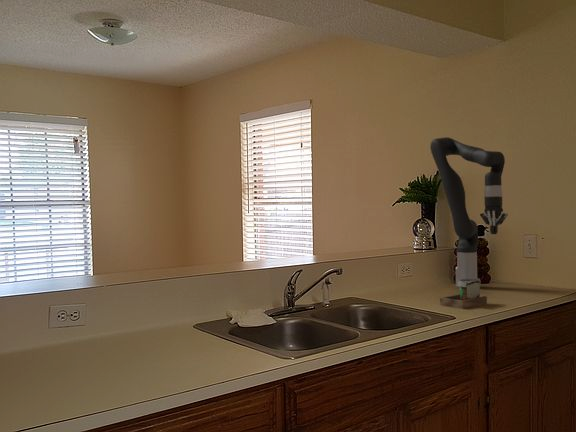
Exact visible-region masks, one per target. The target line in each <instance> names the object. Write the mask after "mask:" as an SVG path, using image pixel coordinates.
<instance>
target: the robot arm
mask: <svg viewBox="0 0 576 432" xmlns="http://www.w3.org/2000/svg"><path fill="white" fill-rule="evenodd" d="M430 152H431V155H432V158H433V160H434V162H435V166H436V167H437V170H438V173H439V177H440V180H441V183H442V187H443V190H444V194H445V197H446V200H447V201H446V202H447V204H448V206H449V210H450V213H451V216H452V217H451V218H452V222H453V229H454V232H455V234H456V236H458V244H457V246H456V263H457V264H456V265H457V266H456V267H455V287H457V288H460V287H459V286H458V281H459V280H460V279H469V278H474V279H478V250H477V249H478V246H479V245H478V244H479V227H478V225H477V222H475V221H474V220H473V219H471V218H470V217H469V214H468V211H467V205H466V191H465V187H464V184H463V180H462V178H461V176H460V175H459V174H458V173H457V172H456V170H454V168H453V167H452V166H451V165H450V163H449V161H448V158H447V156H451V155H452V156H460V157H461V158H462V159H464V161H465V160H466V161H468V162H471V163H473V164H475V163H476V164H477V165H480V166H482V167H487V168H490V171H489V172H486V173H485V174H484V190H483V191H484V210H483V212H482V213H480V214H479V215H480V218H481V219H482V220H483V222H484V223H485V225H487V226H489V232H490V234H491V235H498V231H499V229H498V227H499V226H500V225H502V224H504V223H503V222H504V221H505V220H506V218H507V217H508V216H509V215H508V213H506V212H504V209H503V188H502V176H503V171H504V167H505V163H506V161H505V160H506V159H505V156H504V154H503V153H502V151H498V150H497V151H496V150H495V151H492V150H485V149H483V148H481V147H477V146H473V145H468V144H464V143H462V142H460V141H458V140H455V139H453V138H451V137H446V136H445V137H439V138H438V137H437V138H433V139H432V140H431V142H430Z"/></svg>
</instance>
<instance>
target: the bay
mask: <svg viewBox="0 0 576 432" xmlns="http://www.w3.org/2000/svg"><path fill="white" fill-rule="evenodd" d="M487 302H488V297H487V296H486V295H484V296H480V297H478V298H473V299H468V300H464V301H461V297H460V293H458V294H453V295H447V296H444V297H443V296H442V297H440V298H439V305H440V306H443V307H449V308H454V309H461V310H465V309H470V308H475V307H478V305H479V306H483V305H486V304H488V303H487ZM482 304H483V305H482ZM469 307H470V308H469Z"/></svg>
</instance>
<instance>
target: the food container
mask: <svg viewBox="0 0 576 432" xmlns="http://www.w3.org/2000/svg"><path fill="white" fill-rule="evenodd" d="M481 284H482V283H481V278H477V279H474V278H469V279H460V280H459V281H458V286H459V287H458V288H459V294H460V297H461V301H464V300H468V299H473V298H478V297H481V295H480V293H481Z"/></svg>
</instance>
